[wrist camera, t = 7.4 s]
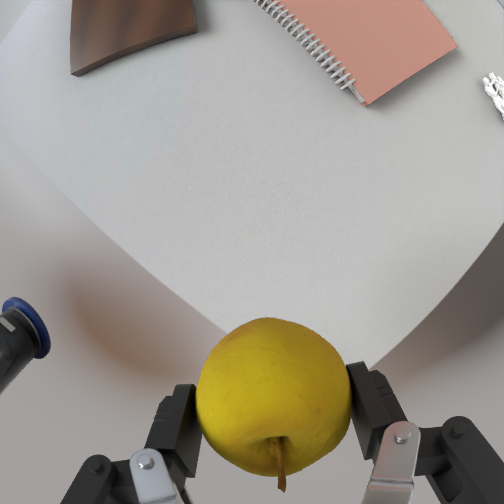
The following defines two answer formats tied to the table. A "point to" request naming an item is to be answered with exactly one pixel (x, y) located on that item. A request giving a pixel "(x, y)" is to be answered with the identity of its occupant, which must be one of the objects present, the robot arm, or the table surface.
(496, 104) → the figurine
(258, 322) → the apple
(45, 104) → the table surface
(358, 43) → the notebook
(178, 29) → the cutting board
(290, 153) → the table surface
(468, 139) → the table surface
